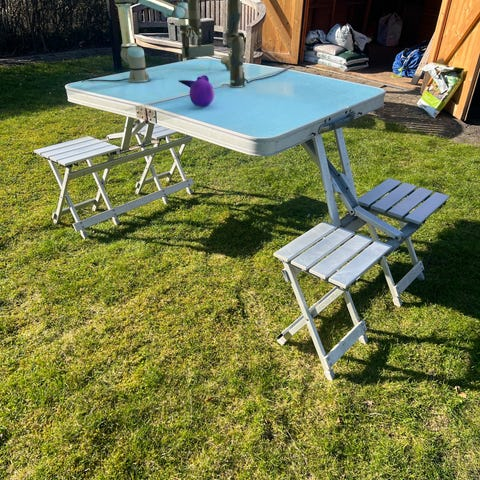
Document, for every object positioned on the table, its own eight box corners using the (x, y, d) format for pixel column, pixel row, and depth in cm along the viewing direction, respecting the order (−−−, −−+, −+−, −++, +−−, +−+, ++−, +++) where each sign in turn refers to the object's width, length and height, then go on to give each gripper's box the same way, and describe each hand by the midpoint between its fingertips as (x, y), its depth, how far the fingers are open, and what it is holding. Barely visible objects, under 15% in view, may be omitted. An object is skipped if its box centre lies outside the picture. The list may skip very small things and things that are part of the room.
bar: (183, 58, 361) (183, 47, 357) (182, 57, 365) (181, 46, 361) (214, 55, 369) (213, 45, 365) (212, 54, 373) (211, 44, 369)
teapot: (224, 71, 365) (223, 52, 358) (217, 69, 374) (217, 50, 366) (247, 69, 374) (246, 49, 367) (240, 67, 383) (239, 48, 375)
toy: (202, 97, 286) (214, 113, 266) (175, 93, 279) (186, 108, 258) (208, 72, 278) (220, 86, 258) (180, 67, 271) (191, 81, 250)
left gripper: (192, 25, 346) (194, 57, 357) (185, 23, 360) (187, 54, 372) (182, 26, 343) (185, 58, 355) (176, 24, 358) (179, 55, 370)
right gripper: (205, 18, 279) (206, 46, 287) (194, 17, 289) (196, 44, 297) (194, 19, 275) (196, 47, 284) (184, 17, 286) (186, 45, 294)
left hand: (186, 56), depth 364 cm, fingers closed on bar, 5 cm apart
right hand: (196, 45), depth 290 cm, fingers open, 8 cm apart
